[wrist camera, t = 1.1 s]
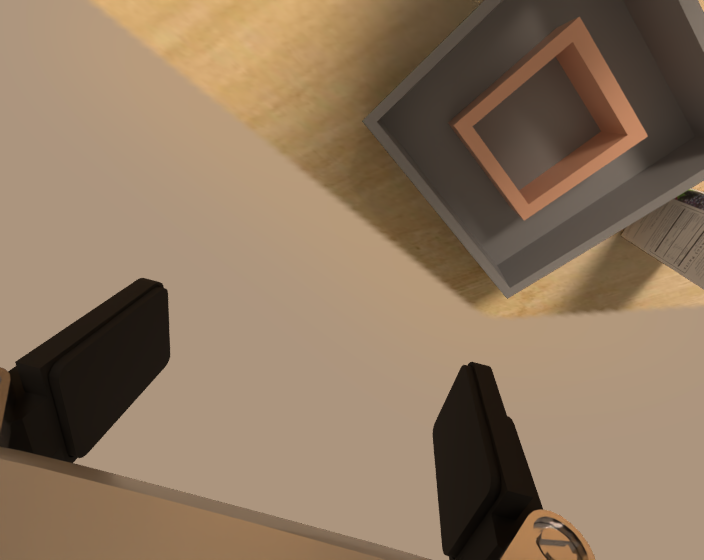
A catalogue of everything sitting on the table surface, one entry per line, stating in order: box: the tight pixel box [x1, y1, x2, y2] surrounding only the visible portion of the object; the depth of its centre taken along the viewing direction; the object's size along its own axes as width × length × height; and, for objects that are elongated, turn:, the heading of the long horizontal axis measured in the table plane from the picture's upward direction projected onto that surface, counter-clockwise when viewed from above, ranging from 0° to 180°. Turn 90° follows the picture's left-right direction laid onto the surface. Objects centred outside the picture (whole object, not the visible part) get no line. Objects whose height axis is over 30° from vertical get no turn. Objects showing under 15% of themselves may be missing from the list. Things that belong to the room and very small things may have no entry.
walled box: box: [362, 0, 704, 299], centre depth 29 cm, size 20×20×6 cm
